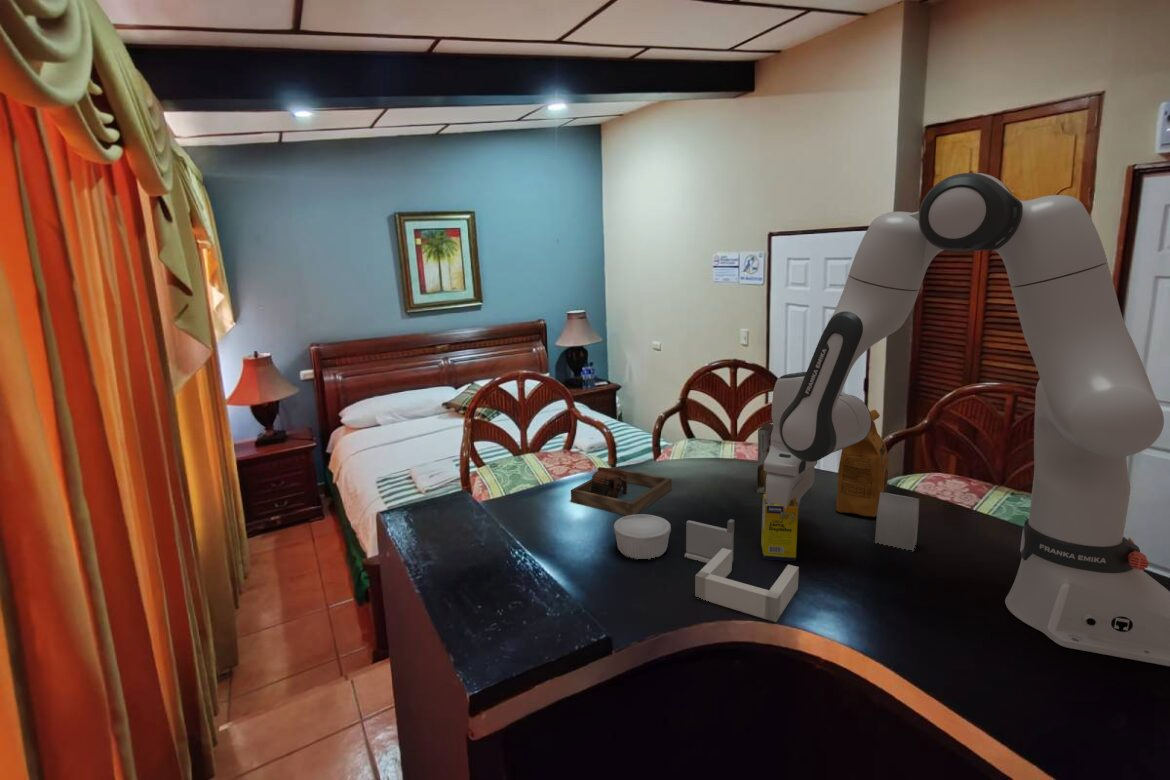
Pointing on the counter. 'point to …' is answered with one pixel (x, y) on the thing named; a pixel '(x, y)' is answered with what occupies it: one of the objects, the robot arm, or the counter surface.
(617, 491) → the pottery mug
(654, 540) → the ramekin
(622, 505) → the frame
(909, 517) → the grey rectangular block
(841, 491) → the coffee package
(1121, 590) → the robot arm
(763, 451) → the coffee box
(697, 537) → the plate
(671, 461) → the counter surface
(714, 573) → the white handled frame
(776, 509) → the supplement box
